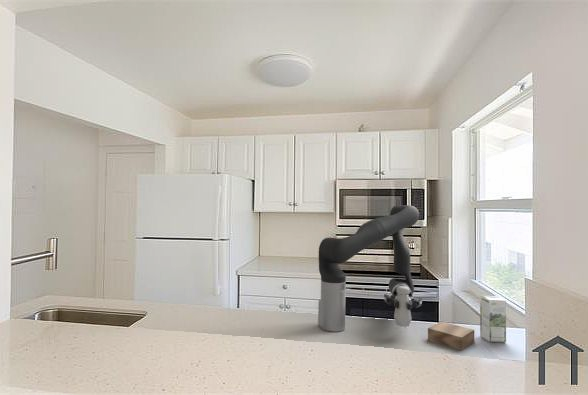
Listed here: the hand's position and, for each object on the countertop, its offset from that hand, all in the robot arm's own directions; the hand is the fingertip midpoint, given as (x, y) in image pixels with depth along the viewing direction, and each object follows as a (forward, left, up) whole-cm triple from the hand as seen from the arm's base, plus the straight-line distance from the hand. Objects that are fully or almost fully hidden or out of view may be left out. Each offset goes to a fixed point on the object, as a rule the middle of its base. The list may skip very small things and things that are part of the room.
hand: (403, 306), depth 108 cm
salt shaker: (-2, +2, -7) cm, 8 cm away
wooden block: (+11, +13, -11) cm, 20 cm away
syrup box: (+20, +26, -12) cm, 34 cm away
